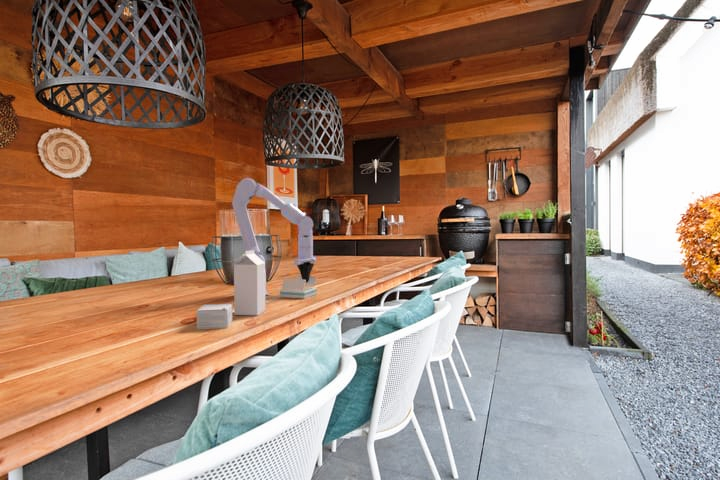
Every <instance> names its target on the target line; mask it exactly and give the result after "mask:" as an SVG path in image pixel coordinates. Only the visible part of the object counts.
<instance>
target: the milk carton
mask: <svg viewBox="0 0 720 480" xmlns="http://www.w3.org/2000/svg"><path fill="white" fill-rule="evenodd" d="M265 270H266V261H265V262H264V261H262V260H261V259H260V258H259V257H258V256H257V255H256V254H255V253H254V250H250V251H246V250H245V251H244V253H243V254H241V255H240V256H239V257H238V261H236V262H235V263H234V265H233V290H234V291H233V294H234V300H233V301H234V302H233V303H234V305H233V306H234V308H233V309H234V311H233V312H234V313H233V314H234V315H235V316H259V315H260V314H262V313H264V312H265V311H266V295H265Z"/></svg>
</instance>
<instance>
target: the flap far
mask: <svg viewBox="0 0 720 480" xmlns="http://www.w3.org/2000/svg"><path fill="white" fill-rule="evenodd" d="M295 279H302V276H301V275H296V276H295ZM317 280H318V276H316V275H315V276H314V275H313V276H312V275H310V277H309V281H308V282H305V286H304V287H314V288H316V286H317V285H316V284H317Z"/></svg>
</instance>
